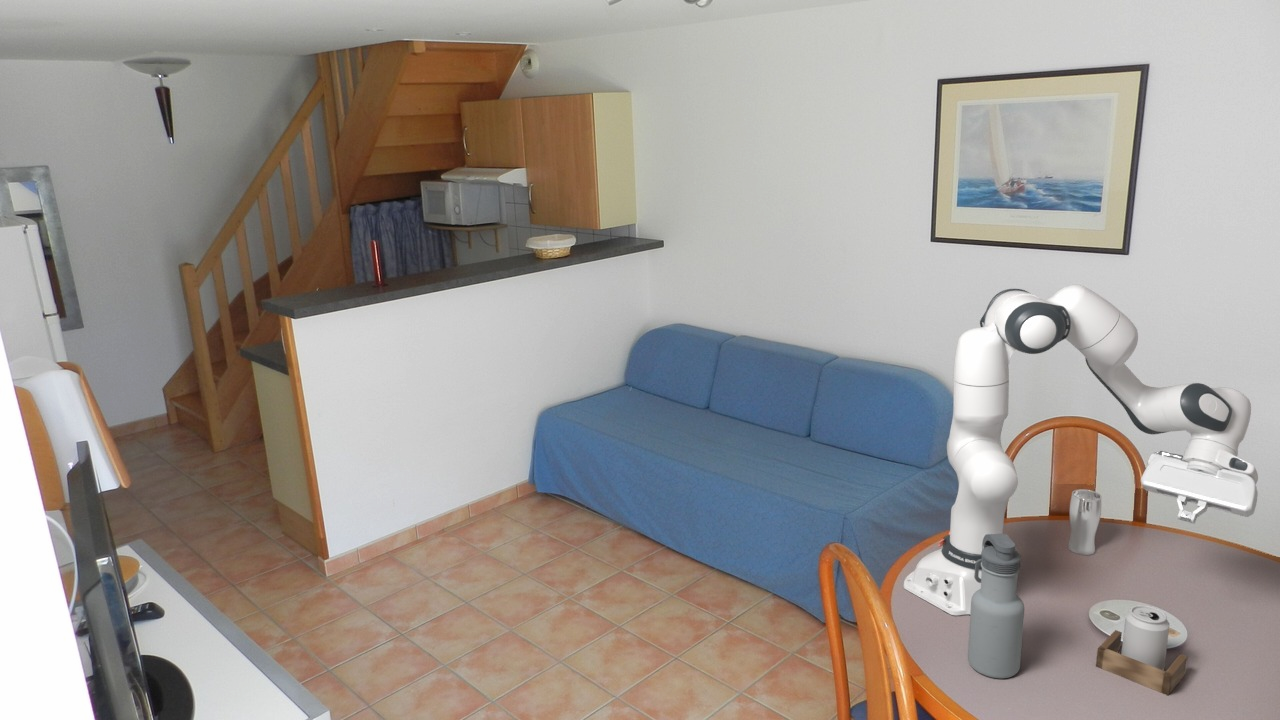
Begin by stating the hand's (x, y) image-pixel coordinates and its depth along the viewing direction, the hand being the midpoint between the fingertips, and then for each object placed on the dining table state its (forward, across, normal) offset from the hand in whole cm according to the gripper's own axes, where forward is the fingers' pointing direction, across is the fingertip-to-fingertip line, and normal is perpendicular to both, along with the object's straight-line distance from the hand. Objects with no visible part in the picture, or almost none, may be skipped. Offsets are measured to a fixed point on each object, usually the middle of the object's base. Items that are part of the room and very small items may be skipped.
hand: (1185, 520), depth 174 cm
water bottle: (+44, -20, -10) cm, 50 cm away
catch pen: (+31, +1, +4) cm, 31 cm away
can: (+31, +1, +4) cm, 31 cm away
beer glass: (+4, -27, +34) cm, 44 cm away
